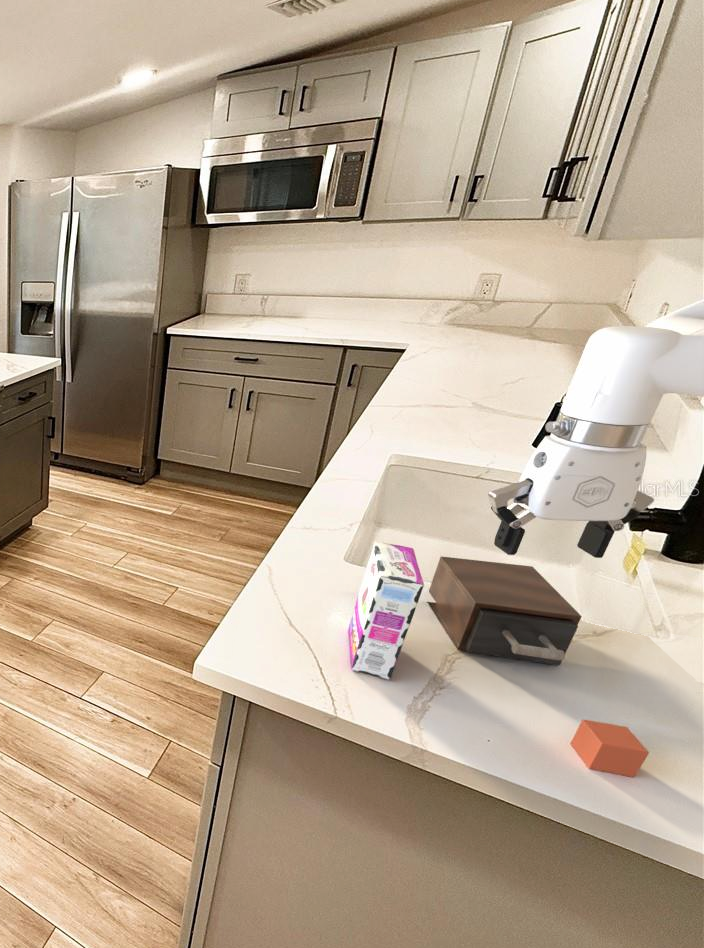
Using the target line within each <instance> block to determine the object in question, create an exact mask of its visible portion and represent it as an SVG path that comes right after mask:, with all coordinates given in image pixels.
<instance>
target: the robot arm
mask: <svg viewBox="0 0 704 948" xmlns="http://www.w3.org/2000/svg"><path fill="white" fill-rule="evenodd" d="M666 394H678V395H686V396H695V397H700V398H701V397H702V398H704V298H703V299H700V300H698V301H696V302H693V303H691V304H688V305H686V306H684V307H681V308H679V309H676V310H674V311H671V312H670V313H666V314H665V315H663V316H661V317H658V318H656V319H655V320H653V321H651V322H650V323H648V324H646V325H645V326H642V325H615V326H607V327H603V328H600V329H598V330H596V331H595V332H593V333H592V334H591V335H590V337H589V338H588V341H587V342H586V344H585V347H584V349H583V352H582V355H581V357H580V360H579V361H578V365H577V367H576V370H575V372H574V374H573V377H572V379H571V382H570V385H569V387H568V390H567V392H566V394H565V397H564V400H563V403H562V405H561V408H560V409H559V413H558V415H557V417H556V420H555V421H548V422H547V423H546V424H545V426H544V429H545V431H546V432H547V433H550V435H545V436H544V437H543V439H542V440H541V442H540V443H539V444H538V446H537V447H536V449H535V450H534V452H533V453H532V455H531V457H530V458H529V460H528V462H527V463H526V465H525V468H524V470H523V471H522V473H521V476H520V478H519V480H518V482H515V483H512V484H509V485H507V486H503V487H501V488H497V489H494V490H491V491H489V492H488V494H487V496H488V501H489V504H490V505H491V507H490V509H491V511H492V512H493V513H494V514H495V515H496V517H497V519H499V520H500V524H499V526H498V529H497V532H496V534H495V538H494V542H493V544H494V546H495V547H497V548H498V549H499V550H500V551H502V552H503V553H505V554H506V555H508V556H515V555H516V554H517V553H518V550H519V548H520V546H521V543H522V542H523V541H522V540H523V538H524V535H525V533H526V530H525V528H523V526H525V525H526V524H528V523H530V522H531V521H532V520H534V519H536V518H538V519H542V520H547V521H568V522H569V521H572V522H573V521H575V522H587V523H586V524H585V526H584V529H583V531H582V533H581V535H580V537H579V540H578V543H577V544H576V547H577V548H578V549H580V550H582V551H584V553H586V554H589V555H590V556H592V557H593V558H596V559H601V558H603V557H604V555H605V553H606V551H607V549H608V547H609V544H610V542H611V540H612V538H613V536H614V534H615V532H619V531H622V530H623V529H625V525H626V524H628V523H629V522H632V521H633V520H635V519H637V518H639V516H640V513H641V512H643V511H645V510H646V509H648V507H650V506H651V505H652V504H653V503H654V502H655V498H654V497H653V496H650V495H648V494H647V493H645V492H643V491H641V490H639V488H640V485H641V482H642V478H643V475H644V471H645V467H646V461H647V449H648V448H647V445H645V444H644V443H642V442H643V439H644V437H645V435H646V433H647V431H648V429H649V426H650V424H651V423H652V420H653V418H654V416H655V413H656V411H657V409H658V407H659V404H660V403H661V400H662V399H663V396H664V395H666ZM510 500H513V501H512V502H513V503H512V504H511V505H509V506H508V502H509V501H510ZM521 512H522V513H521ZM519 513H520V514H519ZM518 514H519V515H518ZM516 515H517V516H516Z"/></svg>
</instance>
